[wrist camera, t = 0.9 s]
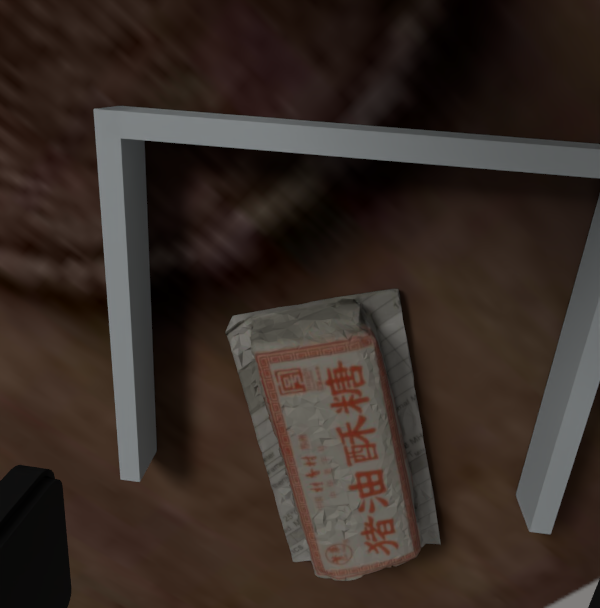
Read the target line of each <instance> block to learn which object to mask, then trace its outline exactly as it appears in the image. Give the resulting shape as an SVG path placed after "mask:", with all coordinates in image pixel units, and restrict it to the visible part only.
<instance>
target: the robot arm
mask: <svg viewBox="0 0 600 608" xmlns="http://www.w3.org/2000/svg"><path fill="white" fill-rule="evenodd" d="M70 597H71V579H70V568H69V556H68V545H67V533H66V522H65V510H64V499H63V487H62V482H61V481H60V480H58V479H55V477H54V473H53V472H52V470H49V469H43V468H37V467H30V466H23V465H18V466H15V467H14V468H13V469H11V470H10V471H9V472H8V473H7V475H6V476H5V477H4V478H3V479H2V480H1V481H0V608H67V607H68V604H69V601H70ZM588 608H600V580H599V582H598V585H597V587H596V590H595V592H594V595H593V597H592V600H591V602H590V605H589V607H588Z"/></svg>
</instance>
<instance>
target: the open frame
mask: <svg viewBox="0 0 600 608" xmlns="http://www.w3.org/2000/svg"><path fill="white" fill-rule="evenodd" d="M94 122H95V135H96V149H97V163H98V176H99V190H100V204H101V218H102V231H103V245H104V259H105V272H106V286H107V300H108V314H109V327H110V341H111V355H112V368H113V382H114V396H115V410H116V423H117V437H118V451H119V464H120V478H121V480H129V481H137V482H140V481H141V479H142V477H143V475H144V474H145V472H146V470H147V468H148V466H149V464H150V463H151V461H152V459H153V457H154V455H155V453H156V452H157V441H156V416H155V391H154V366H153V341H152V316H151V291H150V266H149V241H148V216H147V191H146V166H145V141H144V140H146V141H158V142H170V143H182V144H194V145H206V146H218V147H230V148H242V149H254V150H266V151H278V152H290V153H301V154H313V155H325V156H337V157H349V158H361V159H373V160H385V161H397V162H409V163H421V164H433V165H445V166H457V167H469V168H481V169H493V170H505V171H517V172H529V173H541V174H553V175H565V176H577V177H589V178H600V144H594V143H581V142H569V141H556V140H544V139H531V138H518V137H506V136H493V135H481V134H468V133H455V132H443V131H430V130H418V129H405V128H392V127H380V126H367V125H355V124H342V123H329V122H317V121H304V120H292V119H279V118H266V117H254V116H241V115H229V114H216V113H203V112H191V111H178V110H166V109H153V108H140V107H128V106H115V107H106V108H98V109H94ZM599 382H600V194H599V198H598V202H597V205H596V209H595V212H594V216H593V220H592V223H591V227H590V230H589V234H588V237H587V241H586V245H585V248H584V252H583V255H582V259H581V263H580V266H579V270H578V273H577V277H576V281H575V284H574V288H573V291H572V295H571V299H570V302H569V306H568V309H567V313H566V317H565V320H564V324H563V327H562V331H561V335H560V338H559V342H558V345H557V349H556V352H555V356H554V360H553V363H552V367H551V370H550V374H549V378H548V381H547V385H546V388H545V392H544V396H543V399H542V403H541V406H540V410H539V414H538V417H537V421H536V424H535V428H534V432H533V435H532V439H531V442H530V446H529V450H528V453H527V457H526V460H525V464H524V467H523V471H522V475H521V478H520V482H519V485H518V489H517V493H516V497H517V500H518V503H519V505H520V508H521V511H522V513H523V516H524V519H525V521H526V524H527V527H528V530H529V532H536V533H544V534H551V532H552V529H553V525H554V522H555V519H556V516H557V513H558V510H559V507H560V504H561V500H562V497H563V494H564V491H565V488H566V485H567V482H568V479H569V476H570V472H571V469H572V466H573V463H574V460H575V457H576V454H577V451H578V447H579V444H580V441H581V438H582V435H583V432H584V429H585V426H586V422H587V419H588V416H589V413H590V410H591V407H592V404H593V401H594V398H595V394H596V391H597V388H598V385H599Z"/></svg>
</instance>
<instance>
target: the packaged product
mask: <svg viewBox="0 0 600 608" xmlns="http://www.w3.org/2000/svg"><path fill="white" fill-rule="evenodd" d="M225 333H226V335H227V337H228V340H229V342H230V345H231V350H232V353H233V356H234V360H235V363H236V367H237V371H238V374H239V377H240V380H241V383H242V387H243V390H244V394H245V397H246V401H247V403H248V406H249V412H250V414H251V417H252V421H253V424H254V427H255V432H256V436H257V440H258V443H259V446H260V449H261V451H262V455H263V460H264V463H265V466H266V469H267V473H268V476H269V479H270V483H271V486H272V489H273V492H274V495H275V500H276V504H277V507H278V511H279V514H280V518H281V521H282V524H283V528H284V532H285V535H286V538H287V542H288V544H289V547H290V551H291V555H292V559H293V562H299V561H310V560H311V562H312V565H313V568H314V572H315V574H316V576H318V577H319V578H320V577H321V578H332V579H333V580H339V581H349V580H354V579H357V578H361V577H362V576H363V575H364V574H369V573H372V572H375V571H378V570H381V569H383V568H386V567H391V566H392V565H393V566H398V565H401V564H403V563H405V562H407V561H409V560H411V559H413V558H416V557H417V556H418V554H419V552H420V550H421V547H423V546H424V545H425V544H426V543H428V544H440V545H441V543H440V536H439V529H438V522H437V515H436V508H435V501H434V494H433V488H432V483H431V478H430V473H429V468H428V462H427V457H426V451H425V446H424V441H423V432H422V426H421V420H420V414H419V409H418V403H417V399H416V392H415V388H414V376H413V371H412V365H411V359H410V353H409V347H408V342H407V337H406V332H405V328H404V323H403V317H402V309H401V302H400V295H399V289H389V290H382V291H375V292H368V293H362V294H355V295H349V296H342V297H336V298H330V299H324V300H319V301H314V302H309V303H305V304H300V305H294V306H286V307H279V308H274V309H268V310H263V311H257V312H251V313H246V314H240V315H235V316H233V317H232V318H231V320H230V323H229V325H228V327H227V330H226V332H225Z"/></svg>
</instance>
